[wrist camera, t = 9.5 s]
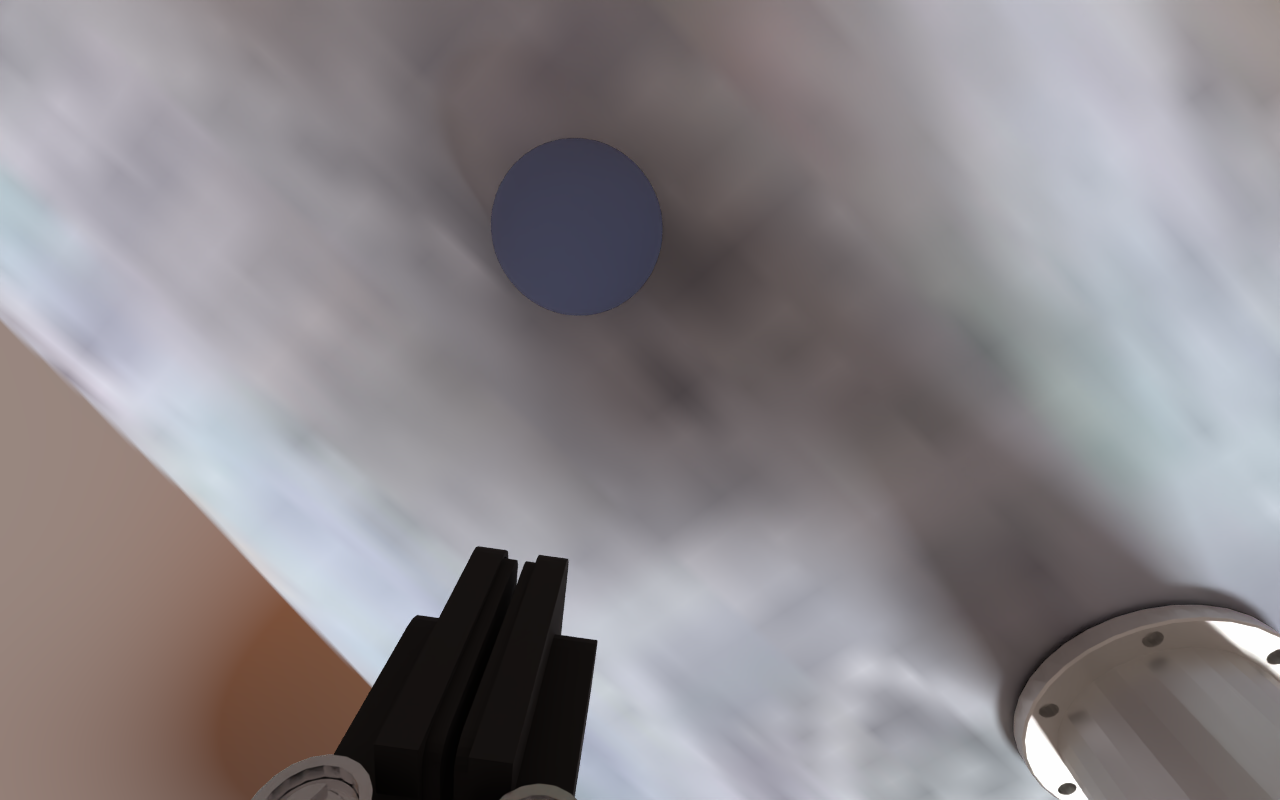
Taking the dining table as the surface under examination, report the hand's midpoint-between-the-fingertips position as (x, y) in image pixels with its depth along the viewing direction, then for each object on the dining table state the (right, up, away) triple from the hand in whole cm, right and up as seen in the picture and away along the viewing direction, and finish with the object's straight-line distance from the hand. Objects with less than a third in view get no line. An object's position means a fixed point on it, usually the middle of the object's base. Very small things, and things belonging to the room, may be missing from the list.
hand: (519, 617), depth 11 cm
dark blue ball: (0, +10, +8) cm, 13 cm away
